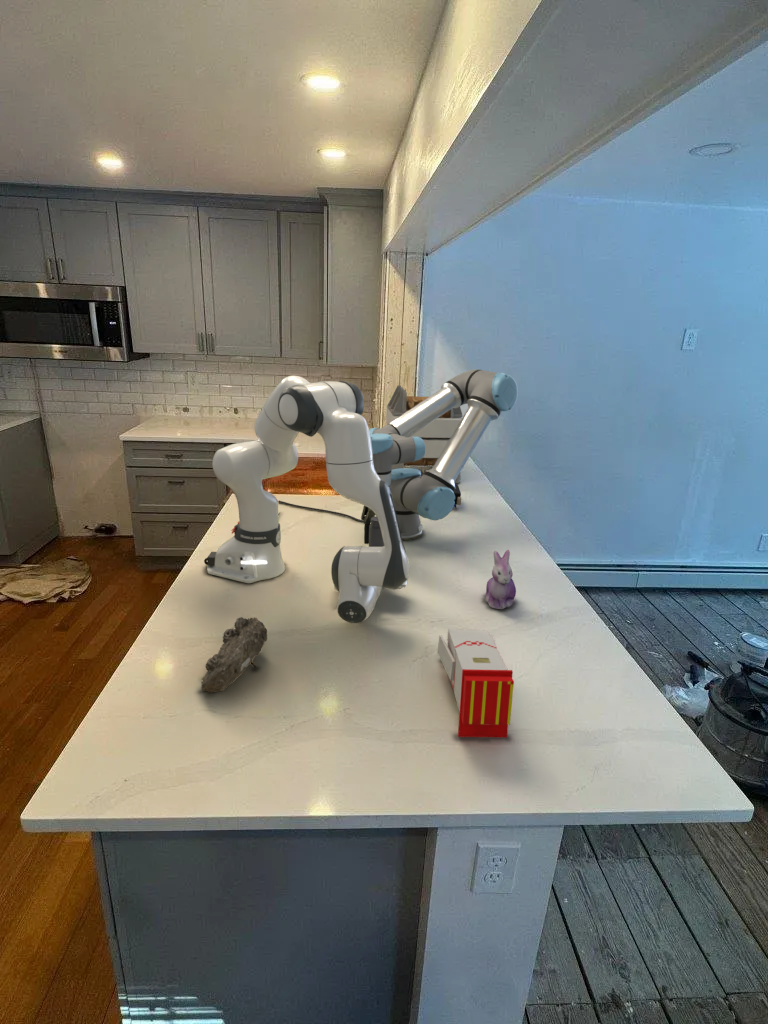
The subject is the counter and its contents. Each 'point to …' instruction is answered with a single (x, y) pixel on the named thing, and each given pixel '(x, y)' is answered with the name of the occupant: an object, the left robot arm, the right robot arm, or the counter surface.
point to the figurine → (501, 583)
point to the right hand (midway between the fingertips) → (376, 550)
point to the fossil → (234, 654)
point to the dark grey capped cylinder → (375, 533)
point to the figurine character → (457, 496)
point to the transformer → (432, 433)
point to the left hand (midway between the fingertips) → (376, 562)
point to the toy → (478, 682)
